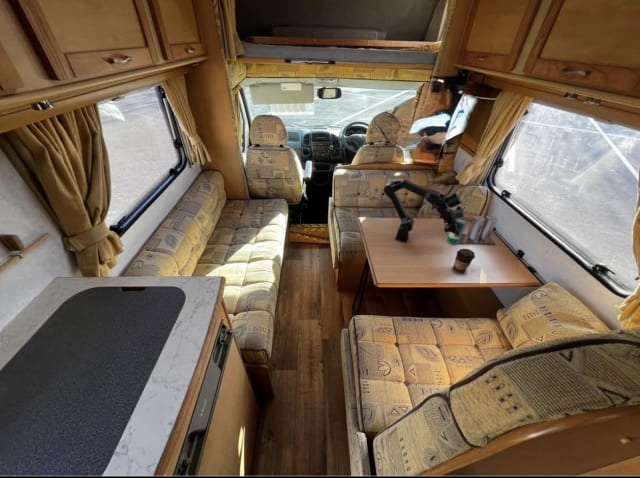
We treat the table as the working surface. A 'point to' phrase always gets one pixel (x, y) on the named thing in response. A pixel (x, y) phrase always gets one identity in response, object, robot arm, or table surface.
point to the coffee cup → (463, 260)
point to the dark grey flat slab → (477, 241)
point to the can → (461, 226)
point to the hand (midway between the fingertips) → (458, 232)
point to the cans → (485, 228)
